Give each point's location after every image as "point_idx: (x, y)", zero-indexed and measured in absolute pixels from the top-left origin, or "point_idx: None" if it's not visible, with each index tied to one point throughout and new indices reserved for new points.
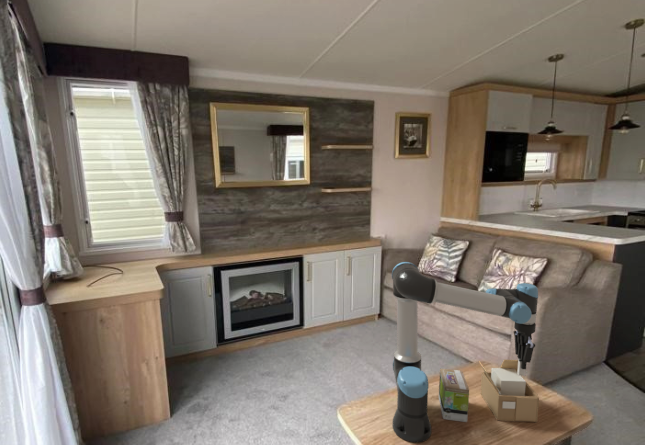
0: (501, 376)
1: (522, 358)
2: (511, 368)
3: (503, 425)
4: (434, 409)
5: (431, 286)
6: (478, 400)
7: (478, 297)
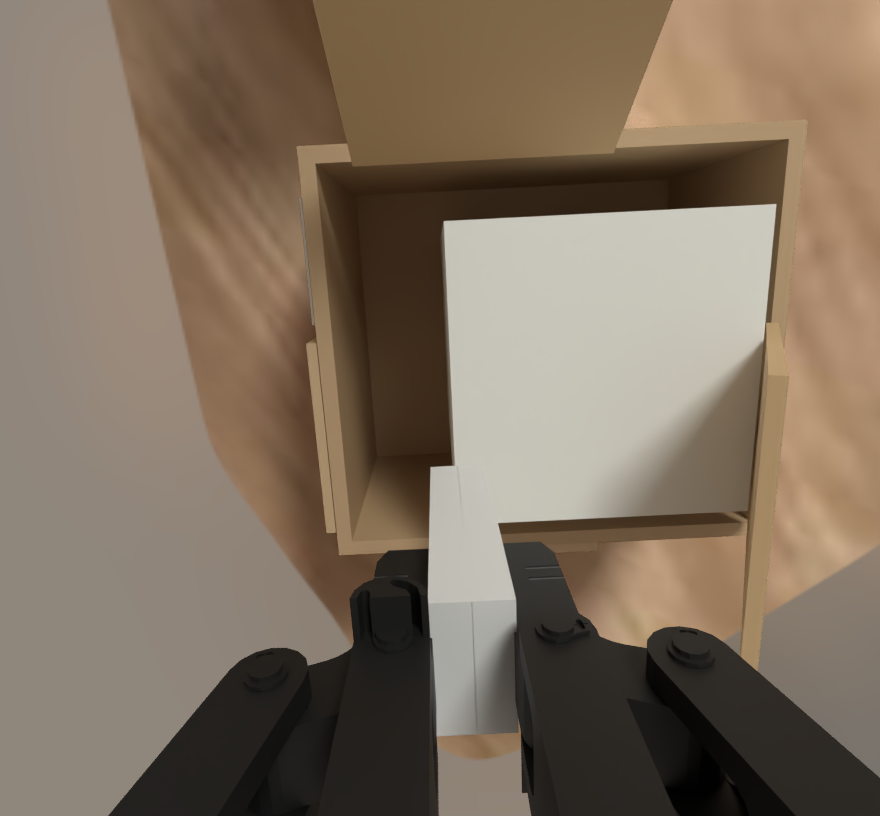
0: (551, 264)
1: (342, 697)
2: (753, 477)
3: (296, 213)
4: None
5: None
6: None
7: None
